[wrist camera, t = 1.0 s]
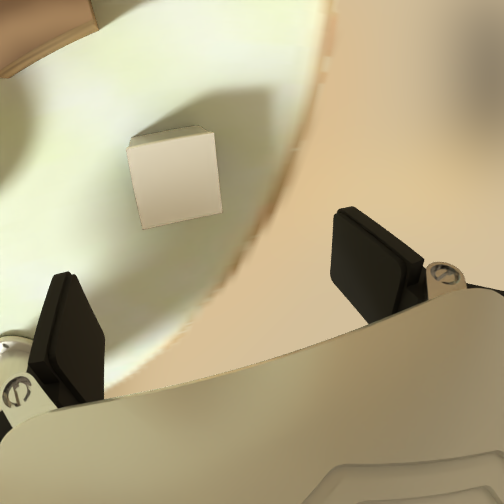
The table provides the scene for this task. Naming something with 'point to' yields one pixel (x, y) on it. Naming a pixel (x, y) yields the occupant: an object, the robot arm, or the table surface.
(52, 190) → the table surface
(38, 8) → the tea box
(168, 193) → the beige cube
